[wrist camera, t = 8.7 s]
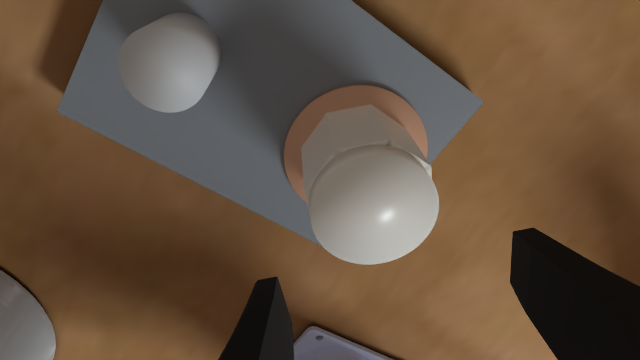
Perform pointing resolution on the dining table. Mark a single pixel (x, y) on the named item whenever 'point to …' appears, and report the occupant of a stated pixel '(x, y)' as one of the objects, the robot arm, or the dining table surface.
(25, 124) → the dining table surface
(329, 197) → the cap
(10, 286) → the utensil holder
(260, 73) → the post board
